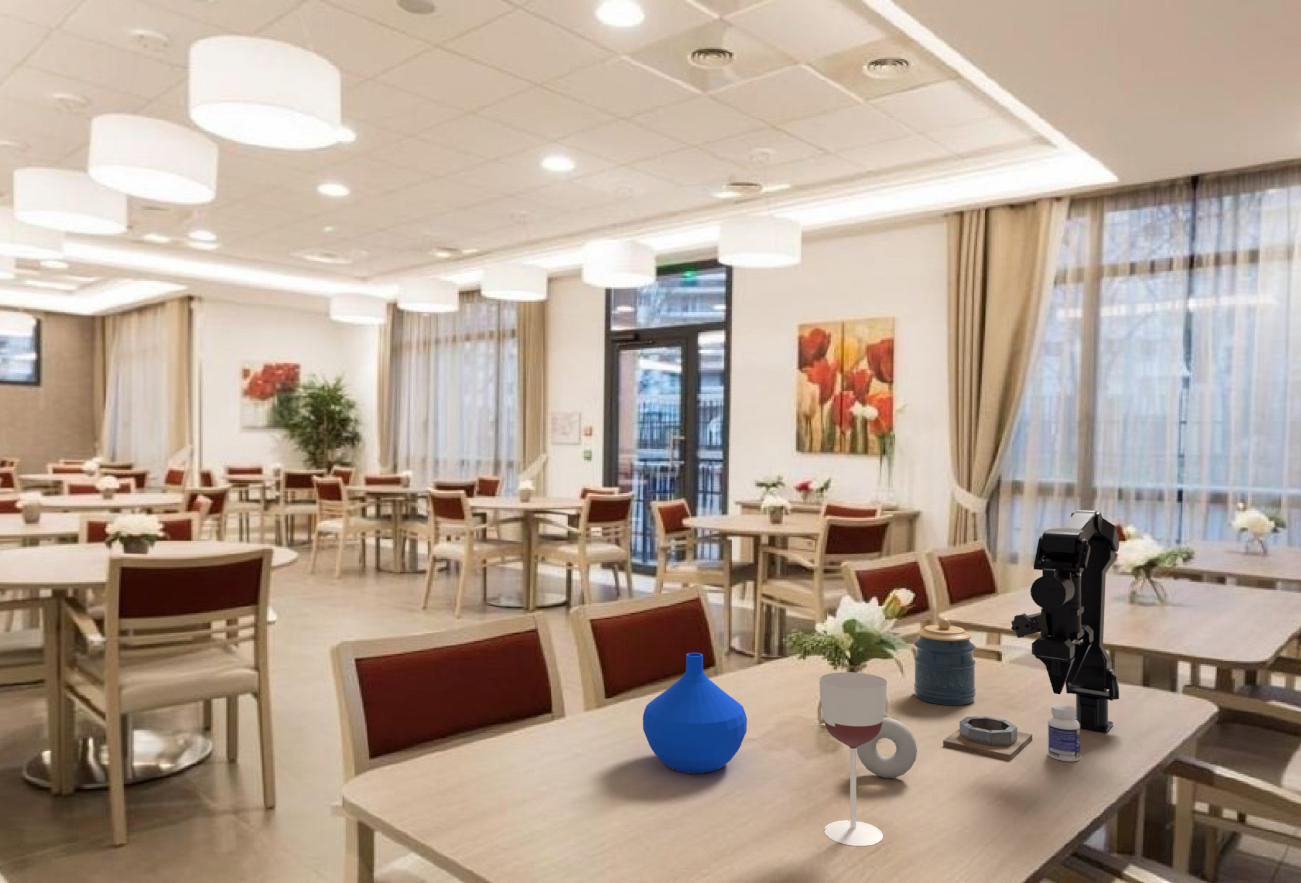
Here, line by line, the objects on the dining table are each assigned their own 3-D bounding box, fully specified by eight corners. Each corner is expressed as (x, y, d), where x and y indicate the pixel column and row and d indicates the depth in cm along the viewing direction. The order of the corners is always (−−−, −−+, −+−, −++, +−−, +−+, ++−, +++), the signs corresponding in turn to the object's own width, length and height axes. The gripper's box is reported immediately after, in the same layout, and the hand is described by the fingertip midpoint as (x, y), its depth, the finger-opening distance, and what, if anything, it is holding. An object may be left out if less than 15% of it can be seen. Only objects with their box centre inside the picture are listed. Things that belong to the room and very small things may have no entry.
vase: (760, 754, 157) (760, 648, 157) (726, 790, 140) (725, 672, 140) (668, 740, 165) (667, 639, 165) (624, 773, 148) (624, 661, 148)
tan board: (968, 727, 172) (968, 721, 172) (1032, 739, 165) (1032, 734, 165) (943, 745, 161) (943, 740, 161) (1010, 760, 154) (1010, 754, 154)
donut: (917, 777, 146) (917, 717, 146) (916, 784, 143) (916, 724, 143) (857, 770, 149) (856, 711, 149) (854, 777, 146) (854, 717, 146)
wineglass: (812, 821, 129) (812, 673, 129) (875, 818, 130) (874, 671, 130) (829, 848, 120) (829, 689, 120) (896, 845, 121) (896, 687, 121)
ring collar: (971, 726, 169) (971, 713, 169) (1021, 736, 164) (1021, 722, 164) (954, 738, 162) (954, 725, 162) (1006, 749, 156) (1006, 735, 156)
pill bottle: (1084, 763, 152) (1083, 712, 152) (1052, 761, 153) (1051, 711, 153) (1075, 753, 158) (1075, 704, 158) (1044, 751, 159) (1044, 702, 159)
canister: (984, 706, 186) (984, 624, 186) (924, 706, 186) (923, 624, 186) (963, 689, 199) (963, 612, 199) (907, 689, 199) (906, 612, 199)
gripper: (1030, 589, 168) (1031, 669, 168) (1000, 603, 153) (1001, 691, 153) (1093, 595, 161) (1094, 679, 161) (1068, 611, 146) (1069, 703, 146)
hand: (1063, 687), depth 156 cm, fingers open, 9 cm apart
